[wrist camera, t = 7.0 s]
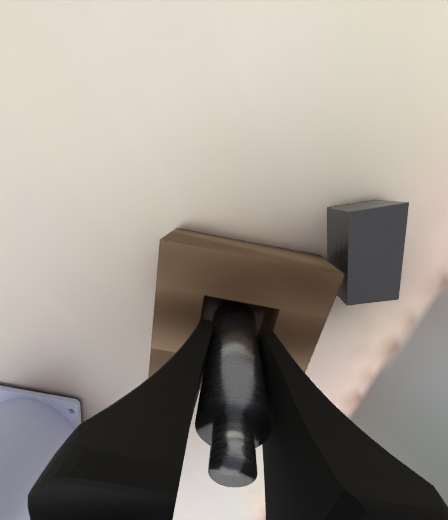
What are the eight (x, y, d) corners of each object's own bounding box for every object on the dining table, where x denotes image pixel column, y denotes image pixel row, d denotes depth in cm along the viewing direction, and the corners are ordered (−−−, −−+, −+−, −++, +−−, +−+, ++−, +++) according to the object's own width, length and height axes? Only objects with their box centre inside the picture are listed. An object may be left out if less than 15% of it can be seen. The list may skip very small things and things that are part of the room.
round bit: (249, 340, 13) (265, 504, 6) (209, 333, 13) (182, 490, 6) (259, 306, 12) (290, 453, 6) (216, 297, 12) (194, 436, 5)
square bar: (368, 279, 13) (398, 299, 11) (326, 284, 14) (347, 305, 11) (372, 199, 12) (408, 202, 9) (325, 207, 12) (348, 211, 10)
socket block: (281, 366, 16) (291, 405, 13) (163, 345, 16) (148, 380, 13) (320, 255, 13) (344, 274, 10) (176, 228, 13) (160, 239, 10)
